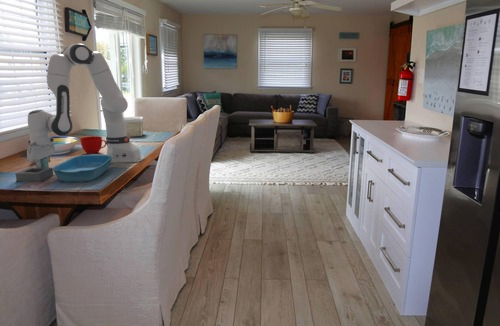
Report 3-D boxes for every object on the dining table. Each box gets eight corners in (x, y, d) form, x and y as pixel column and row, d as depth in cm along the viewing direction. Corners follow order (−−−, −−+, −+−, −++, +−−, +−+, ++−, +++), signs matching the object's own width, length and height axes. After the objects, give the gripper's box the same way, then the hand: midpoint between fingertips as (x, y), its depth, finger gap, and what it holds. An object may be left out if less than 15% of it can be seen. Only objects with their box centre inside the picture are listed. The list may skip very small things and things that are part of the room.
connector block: (49, 170, 219) (47, 157, 217) (45, 172, 215) (43, 159, 214) (42, 170, 219) (40, 157, 218) (37, 171, 215) (36, 159, 214)
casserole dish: (93, 184, 192) (92, 170, 191) (46, 185, 192) (45, 170, 191) (118, 166, 228) (117, 153, 227) (78, 166, 228) (77, 154, 227)
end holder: (53, 175, 209) (52, 167, 208) (40, 181, 197) (39, 173, 196) (31, 174, 210) (30, 167, 209) (16, 181, 198) (15, 173, 197)
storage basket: (111, 137, 319) (110, 119, 315) (115, 134, 334) (113, 116, 331) (143, 137, 322) (141, 118, 319) (144, 133, 338) (143, 116, 335)
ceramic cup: (101, 155, 253) (100, 140, 251) (77, 154, 257) (75, 139, 254) (112, 151, 266) (111, 136, 264) (89, 150, 269) (87, 136, 267)
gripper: (33, 144, 203) (37, 171, 206) (55, 137, 223) (58, 162, 226) (21, 144, 204) (25, 171, 207) (44, 137, 223) (47, 161, 227)
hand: (42, 166), depth 217 cm, fingers closed on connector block, 4 cm apart
